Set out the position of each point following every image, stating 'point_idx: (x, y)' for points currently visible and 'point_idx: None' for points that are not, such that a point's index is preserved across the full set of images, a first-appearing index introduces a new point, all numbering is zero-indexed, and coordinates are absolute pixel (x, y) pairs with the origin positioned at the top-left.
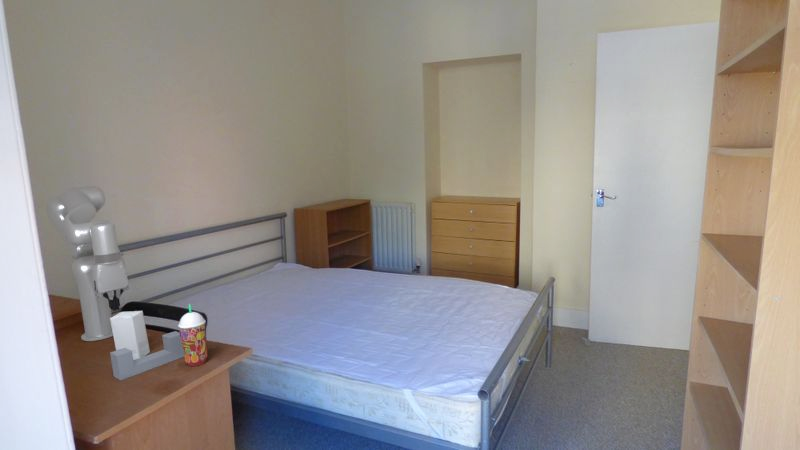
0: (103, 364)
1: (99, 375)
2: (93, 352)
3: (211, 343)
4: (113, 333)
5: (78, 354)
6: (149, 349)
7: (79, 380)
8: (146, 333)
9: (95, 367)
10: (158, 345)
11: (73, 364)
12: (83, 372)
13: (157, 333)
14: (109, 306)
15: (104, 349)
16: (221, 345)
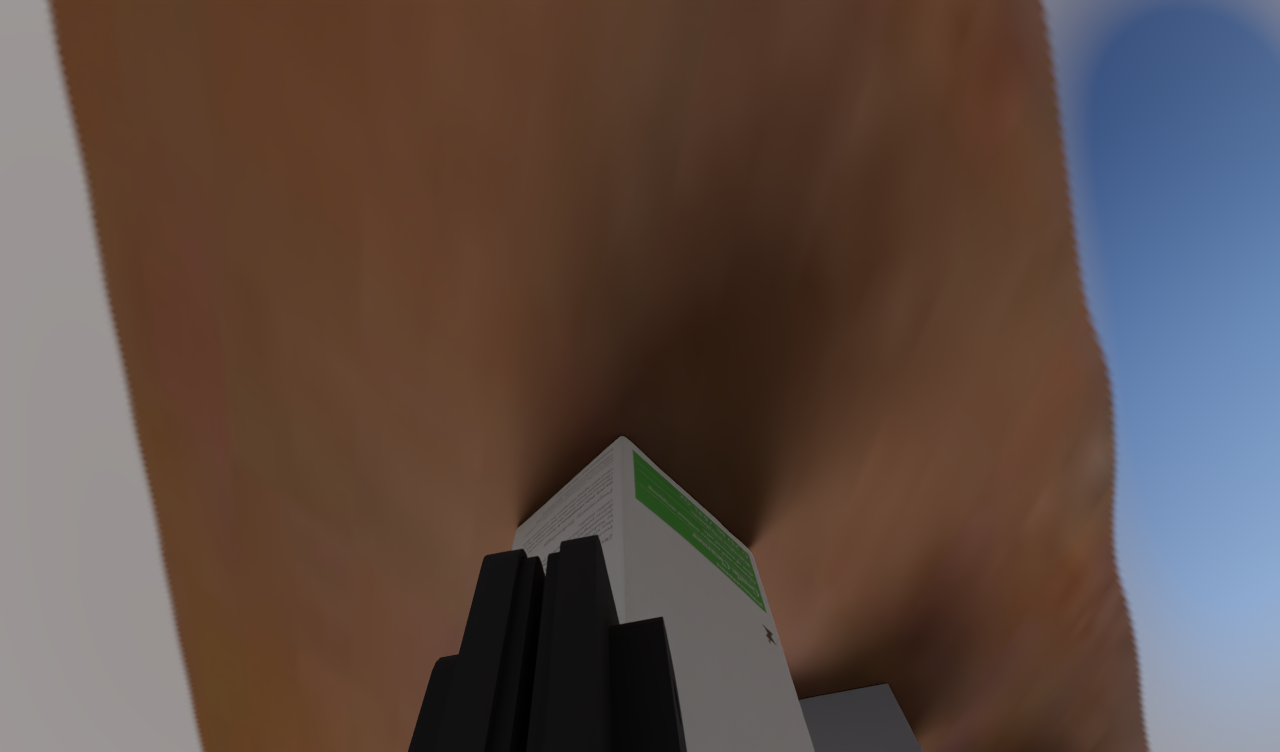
0: (407, 522)
1: (369, 692)
2: (336, 127)
3: (1118, 675)
4: None
5: (181, 50)
6: (757, 569)
7: (241, 685)
8: (791, 688)
9: (347, 538)
10: (862, 435)
11: (162, 332)
12: (260, 571)
13: (1012, 61)
14: (436, 688)
15: (447, 126)
16: (1128, 744)
